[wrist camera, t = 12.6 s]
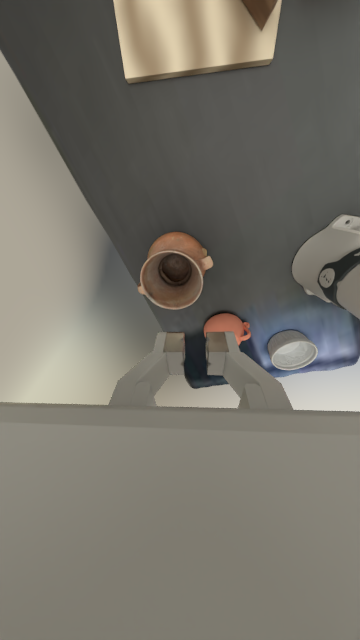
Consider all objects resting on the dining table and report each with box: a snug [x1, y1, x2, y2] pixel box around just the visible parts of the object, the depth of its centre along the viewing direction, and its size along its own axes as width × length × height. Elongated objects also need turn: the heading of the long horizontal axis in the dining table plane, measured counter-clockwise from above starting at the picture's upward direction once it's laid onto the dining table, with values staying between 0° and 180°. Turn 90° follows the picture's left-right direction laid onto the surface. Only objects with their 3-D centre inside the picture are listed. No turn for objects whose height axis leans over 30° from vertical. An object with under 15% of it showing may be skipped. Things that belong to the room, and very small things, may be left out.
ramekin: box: [268, 330, 318, 370], centre depth 56 cm, size 13×13×7 cm
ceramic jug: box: [138, 232, 213, 309], centre depth 39 cm, size 18×14×14 cm
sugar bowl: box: [204, 313, 251, 346], centre depth 51 cm, size 12×14×10 cm
